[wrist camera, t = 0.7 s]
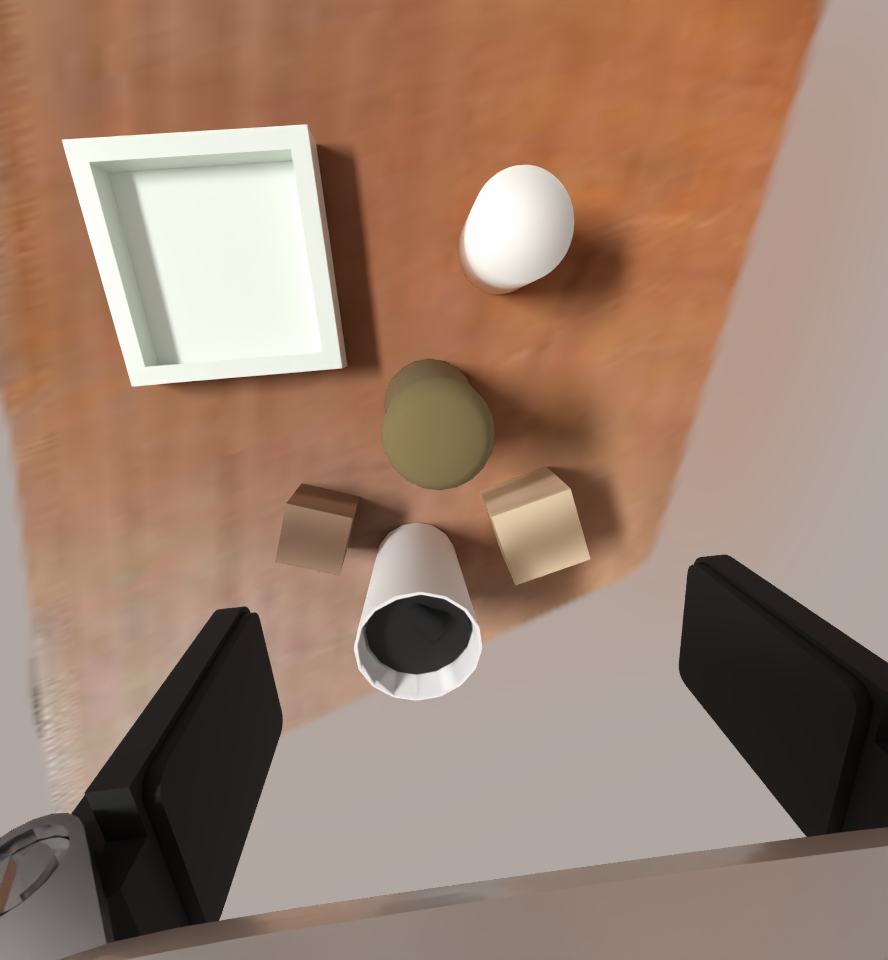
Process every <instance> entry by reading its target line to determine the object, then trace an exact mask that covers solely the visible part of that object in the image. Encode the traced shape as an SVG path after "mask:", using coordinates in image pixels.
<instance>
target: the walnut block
mask: <svg viewBox="0 0 888 960" xmlns="http://www.w3.org/2000/svg"><path fill="white" fill-rule="evenodd" d="M358 502H359V497H357V496H353V495H349V494H344V493H340V492H336V491H331V490H327V489H323V488H318V487H314V486H310V485H305V484H301V485H300V486H299V487H298V489H297V490H296V491H295V493H294V494H293V495H292V497H291V498H290V499H289V501H288V502H287V503H286V508H285V513H284V518H283V524H282V529H281V534H280V540H279V545H278V550H277V556H276V561H275V562H276V563H281V564H286V565H291V566H296V567H301V568H306V569H311V570H316V571H321V572H326V573H331V574H335V575H340V572H341V568H342V565H343V562H344V558H345V555H346V552H347V548H348V544H349V540H350V536H351V531H352V527H353V523H354V519H355V514H356V510H357V506H358Z"/></svg>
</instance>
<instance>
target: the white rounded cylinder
mask: <svg viewBox="0 0 888 960" xmlns="http://www.w3.org/2000/svg"><path fill="white" fill-rule="evenodd" d="M573 231H574V212H573V206H572V203H571V200H570V197H569V195H568V193H567V191H566V189H565V188H564V186H563V185H562V183H561V182H560V181H559V180H558V179H557V178H556V177H555V176H554V175H552V174H551V173H550V172H548V171H546V170H544V169H542V168H540V167H537V166H532V165H517V166H512V167H509V168H506V169H504V170H502V171H500V172H499V173H497V174H496V175H494V176H493V177H492V178H491V179H490V180H489V181H488V182H487V183H486V184H485V185H484V187H483V188H482V190H481V191H480V193H479V195H478V197H477V199H476V201H475V203H474V205H473V208H472V210H471V212H470V214H469V216H468V218H467V220H466V223H465V225H464V227H463V229H462V232H461V234H460V238H459V244H458V256H459V261H460V265H461V268H462V270H463V272H464V274H465V276H466V277H467V279H468V280H469V281H470V282H471V283H472V284H473V285H474V286H475V287H476V288H478V289H480V290H481V291H484V292H486V293H490V294H507V293H510V292H513V291H515V290H517V289H519V288H521V287H523V286H525V285H527V284H529V283H531V282H533V281H535V280H537V279H540V278H542V277H544V276H545V275H547V274H548V273H550V272H551V271H552V270H553V269H555V268H556V266H557V265H558V264H559V263H560V262H561V261H562V259H563V258H564V256H565V254H566V253H567V251H568V249H569V246H570V244H571V240H572V237H573Z"/></svg>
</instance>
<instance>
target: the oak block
mask: <svg viewBox="0 0 888 960" xmlns="http://www.w3.org/2000/svg"><path fill="white" fill-rule="evenodd" d="M480 494H481V497H482V499H483V502H484V505H485V508H486V511H487V514H488V516H489V519H490V522H491V525H492V528H493V531H494V534H495V536H496V539H497V542H498V545H499V548H500V551H501V553H502V555H503V558H504V560H505V562H506V565H507V567H508V569H509V572H510V574H511V576H512V579H513V581H514V583H515V586H516V585H518V584H521V583H524V582H527V581H530V580H533V579H536V578H538V577H541V576H544V575H547V574H550V573H553V572H556V571H558V570H561V569H564V568H567V567H570V566H573V565H575V564H578V563H581V562H584V561H587V560H590V556H589V552H588V549H587V545H586V542H585V538H584V534H583V531H582V527H581V524H580V520H579V517H578V513H577V509H576V506H575V502H574V499H573V495H572V492H571V489H570V488H569V487H568V486H567V485H566V484H565V483H564V482H563V481H562V480H561V479H560V478H558V477H557V476H556V475H555V474H554V473H553V472H552V471H551V470H550V469H549V468H548V467H545V468H542V469H539V470H536V471H534V472H531V473H528V474H525V475H522V476H520V477H517V478H514V479H511V480H509V481H506V482H503V483H500V484H498V485H495V486H492V487H489V488H486V489H484V490H481V491H480Z"/></svg>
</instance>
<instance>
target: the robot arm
mask: <svg viewBox="0 0 888 960" xmlns="http://www.w3.org/2000/svg"><path fill="white" fill-rule="evenodd" d="M679 671H680V675H681V678H682V680H683V682H684V683H685V685H686V686H687V687H688V689H689V690H690V691H691V692H692V694H693V695H694V696H695V698H697V700H698V701H699V703H700V704H701V705H702V706H703V708H704V709H705V710H706V711H707V713H708V714H709V715H710V716H711V718H712V719H713V720H714V721H715V722H716V724H717V725H718V726H719V728H720V729H721V730H722V731H723V733H724V734H725V735H726V736H727V738H728V739H729V740H730V741H731V743H732V744H733V745H734V746H735V748H736V749H737V750H738V752H739V753H740V754H741V755H742V757H743V758H744V759H745V760H746V762H747V763H748V764H749V765H750V767H751V768H752V769H753V770H754V772H755V773H756V774H757V775H758V776H759V778H760V779H761V780H762V782H763V783H764V784H765V785H766V787H767V788H768V789H769V790H770V792H771V793H772V794H773V795H774V797H775V798H776V799H777V800H778V802H779V803H780V804H781V805H782V807H783V808H784V809H785V810H786V812H787V813H788V814H789V815H790V817H791V818H792V819H793V821H794V822H795V823H796V824H797V825H798V827H799V828H800V829H801V831H802V832H803V833H804V834H805V835H806V836H807V837H804V838H796V839H789V840H781V841H774V842H766V843H758V844H751V845H743V846H736V847H728V848H721V849H713V850H706V851H697V852H690V853H683V854H675V855H668V856H661V857H653V858H647V859H639V860H631V861H624V862H617V863H609V864H602V865H595V866H588V867H581V868H574V869H567V870H559V871H552V872H545V873H537V874H531V875H523V876H516V877H509V878H501V879H494V880H488V881H480V882H473V883H466V884H459V885H452V886H445V887H438V888H432V889H424V890H418V891H411V892H405V893H397V894H390V895H383V896H376V897H370V898H363V899H356V900H349V901H342V902H335V903H328V904H321V905H315V906H308V907H300V908H294V909H288V910H282V911H276V912H270V913H264V914H258V915H252V916H246V917H239V918H234V919H227V920H222V921H219V919H220V917H221V914H222V911H223V908H224V905H225V902H226V899H227V896H228V893H229V889H230V886H231V883H232V880H233V877H234V874H235V871H236V868H237V865H238V862H239V859H240V856H241V853H242V850H243V847H244V844H245V841H246V838H247V835H248V831H249V829H250V826H251V823H252V820H253V817H254V813H255V810H256V807H257V804H258V801H259V798H260V795H261V792H262V789H263V786H264V783H265V780H266V777H267V774H268V771H269V768H270V765H271V762H272V759H273V756H274V752H275V750H276V747H277V743H278V740H279V737H280V734H281V731H282V722H283V718H282V711H281V706H280V702H279V698H278V694H277V690H276V685H275V681H274V677H273V673H272V669H271V664H270V660H269V656H268V652H267V648H266V643H265V639H264V635H263V631H262V627H261V622H260V619H259V616H258V614H257V613H250V610H249V609H248V608H247V607H237V608H227V609H219V610H216V611H215V612H214V613H213V615H212V616H211V618H210V619H209V620H208V622H207V623H206V624H205V626H204V627H203V629H202V630H201V631H200V633H199V634H198V636H197V637H196V638H195V640H194V641H193V643H192V644H191V645H190V647H189V648H188V650H187V651H186V652H185V654H184V655H183V656H182V658H181V659H180V661H179V662H178V663H177V665H176V666H175V668H174V669H173V670H172V672H171V673H170V675H169V676H168V677H167V679H166V680H165V682H164V683H163V684H162V686H161V687H160V689H159V690H158V691H157V693H156V694H155V695H154V697H153V698H152V700H151V701H150V702H149V704H148V705H147V707H146V708H145V709H144V711H143V712H142V714H141V715H140V716H139V718H138V719H137V721H136V722H135V723H134V725H133V726H132V727H131V729H130V730H129V732H128V733H127V734H126V736H125V737H124V739H123V740H122V741H121V743H120V744H119V746H118V747H117V748H116V750H115V751H114V753H113V754H112V755H111V757H110V758H109V759H108V761H107V762H106V764H105V765H104V766H103V768H102V769H101V771H100V772H99V773H98V775H97V776H96V778H95V779H94V780H93V782H92V783H91V785H90V786H89V787H88V789H87V790H86V792H85V796H84V797H83V798H82V800H81V801H80V803H79V804H78V805H77V807H76V808H75V810H74V811H73V812H72V814H69V813H55V814H49V815H46V816H43V817H40V818H36V819H33V820H31V821H29V822H27V823H25V824H23V825H21V826H19V827H17V828H15V829H13V830H11V831H9V832H8V833H6V834H5V835H3V836H2V837H0V960H888V663H887V662H886V661H884V660H883V659H881V658H880V657H878V656H877V655H875V654H874V653H872V652H871V651H870V650H868V649H867V648H865V647H864V646H862V645H860V644H859V643H858V642H856V641H855V640H853V639H852V638H850V637H849V636H847V635H846V634H844V633H843V632H841V631H840V630H839V629H837V628H836V627H834V626H833V625H831V624H830V623H828V622H826V621H825V620H824V619H822V618H821V617H819V616H818V615H816V614H815V613H813V612H811V611H810V610H809V609H808V608H806V607H804V606H803V605H802V604H800V603H799V602H797V601H796V600H794V599H793V598H791V597H790V596H788V595H787V594H785V593H784V592H782V591H781V590H779V589H778V588H776V587H775V586H773V585H772V584H771V583H769V582H768V581H766V580H765V579H763V578H762V577H760V576H759V575H757V574H756V573H754V572H753V571H751V570H750V569H748V568H747V567H745V566H744V565H743V564H741V563H739V562H738V561H736V560H735V559H734V558H732V557H731V556H728V555H716V556H707V557H700V558H698V559H696V561H695V563H694V565H691V566H690V567H689V569H688V574H687V584H686V595H685V605H684V615H683V626H682V636H681V647H680V658H679Z"/></svg>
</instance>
